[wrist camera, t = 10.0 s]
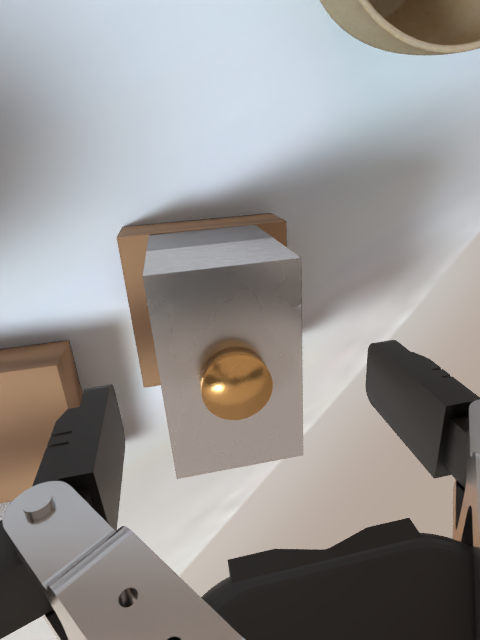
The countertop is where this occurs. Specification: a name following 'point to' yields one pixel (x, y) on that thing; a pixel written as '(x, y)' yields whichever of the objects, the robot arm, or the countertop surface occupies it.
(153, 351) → the stand
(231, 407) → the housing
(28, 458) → the stand
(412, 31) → the beige round bowl
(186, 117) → the countertop surface
